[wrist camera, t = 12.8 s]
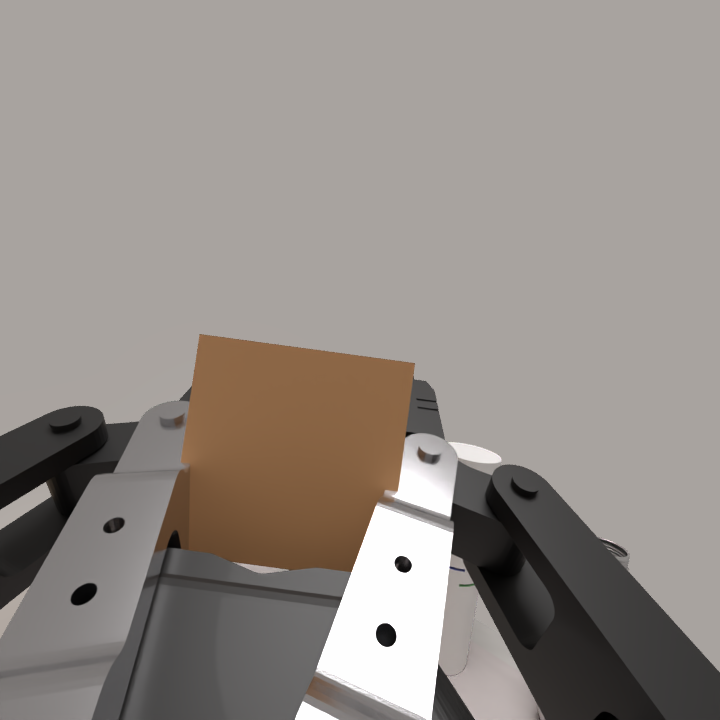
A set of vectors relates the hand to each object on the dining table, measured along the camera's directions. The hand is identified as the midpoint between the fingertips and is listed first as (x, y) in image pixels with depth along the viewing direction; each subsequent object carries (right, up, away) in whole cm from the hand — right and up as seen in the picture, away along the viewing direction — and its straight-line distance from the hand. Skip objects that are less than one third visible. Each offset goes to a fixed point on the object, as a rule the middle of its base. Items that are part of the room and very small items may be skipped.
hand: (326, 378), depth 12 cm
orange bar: (0, -3, +5) cm, 6 cm away
